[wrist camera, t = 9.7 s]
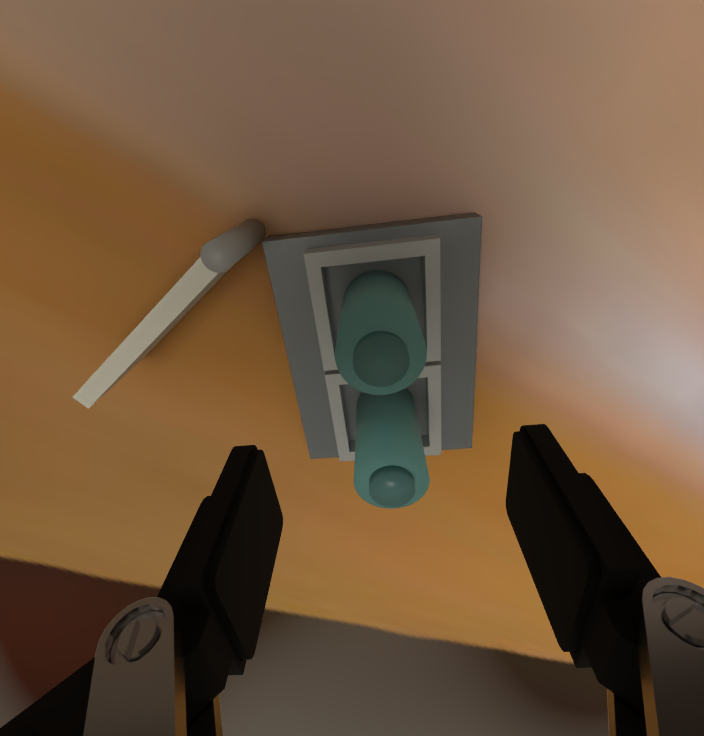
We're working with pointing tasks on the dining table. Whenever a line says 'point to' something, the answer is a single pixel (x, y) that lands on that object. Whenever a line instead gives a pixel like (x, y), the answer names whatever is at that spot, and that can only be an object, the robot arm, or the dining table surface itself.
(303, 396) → the housing
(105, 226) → the dining table surface
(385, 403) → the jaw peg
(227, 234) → the cover flap
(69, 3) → the dining table surface
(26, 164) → the dining table surface
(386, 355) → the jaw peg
